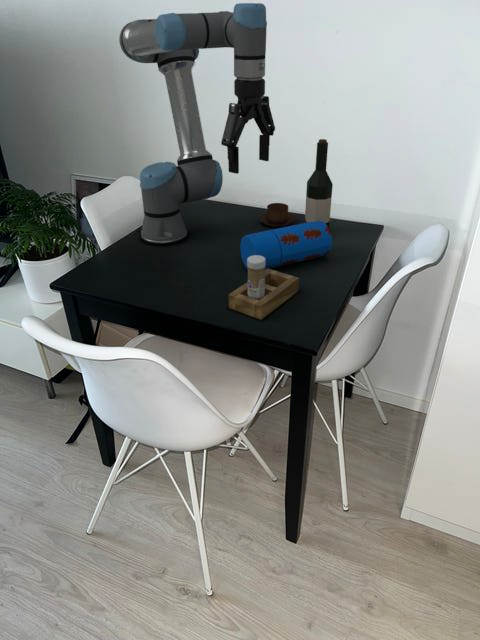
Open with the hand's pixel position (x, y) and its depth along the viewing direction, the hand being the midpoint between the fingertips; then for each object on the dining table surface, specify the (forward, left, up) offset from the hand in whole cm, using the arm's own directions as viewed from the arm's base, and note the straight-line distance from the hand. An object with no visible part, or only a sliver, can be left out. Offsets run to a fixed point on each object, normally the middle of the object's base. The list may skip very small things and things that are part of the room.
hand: (249, 166), depth 134 cm
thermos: (+13, +20, -24) cm, 34 cm away
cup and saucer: (-12, +33, -30) cm, 46 cm away
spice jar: (+14, -18, -30) cm, 37 cm away
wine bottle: (+3, +34, -30) cm, 45 cm away
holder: (+14, -14, -29) cm, 36 cm away
